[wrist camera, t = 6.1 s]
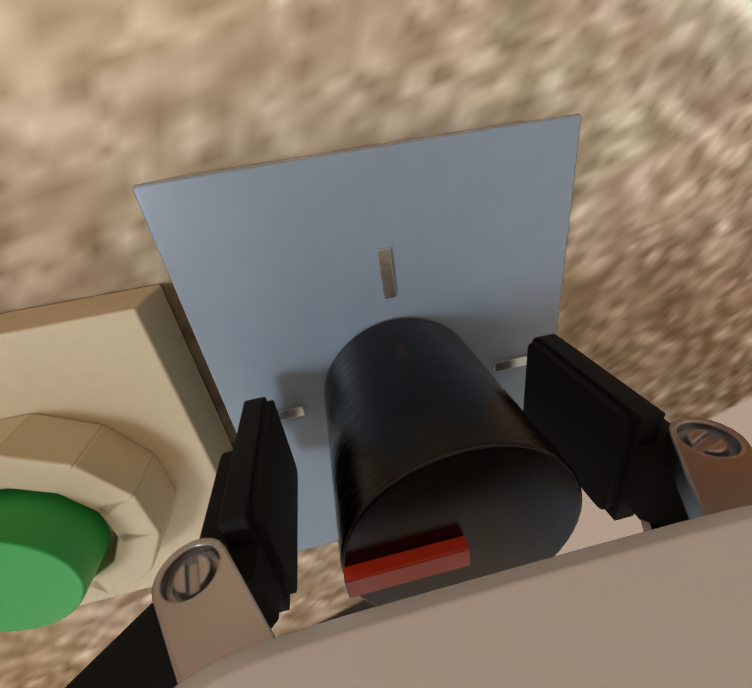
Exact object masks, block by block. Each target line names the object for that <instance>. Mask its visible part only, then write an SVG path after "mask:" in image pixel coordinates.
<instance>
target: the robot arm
mask: <svg viewBox="0 0 752 688" xmlns="http://www.w3.org/2000/svg"><path fill="white" fill-rule="evenodd" d="M523 411H524V412H525V414H526V415H527V416H528V417H529V418H530V419H531V421H532V422H533V423H534V424H535V425H536V426H537V428H538V429H539V430H540V431H541V432H542V433H543V435H544V436H545V437H546V438H547V439H548V440H549V442H550V443H551V444H552V445H553V446H554V447H555V449H556V450H557V451H558V452H559V453H560V454H561V456H562V457H563V458H564V459H565V460H566V461H567V463H568V464H569V465H570V466H571V467H572V468H573V470H574V472H575V474H576V475H577V477H578V480H579V483H580V487H581V488H582V489H583V490H584V491H585V493H586V494H587V495H588V496H589V497H590V499H591V500H592V501H593V502H594V503H595V504H596V505H597V506H598V507H599V508H600V509H605V510H606V511H607V512H608V513H609V515H610V516H611V517H612V518H613V519H614V520H619V519H622V518H626V517H630V516H633V515H634V514H635V515H636V516H637V517H638V518H639V519H640V520H641V523H642V527H643V530H644V532H642V533H638V534H634V535H631V536H627V537H623V538H620V539H616V540H613V541H609V542H605V543H601V544H598V545H594V546H590V547H587V548H583V549H580V550H576V551H572V552H569V553H565V554H561V555H558V556H554V557H551V558H547V559H544V560H540V561H536V562H533V563H529V564H526V565H522V566H518V567H515V568H511V569H508V570H504V571H501V572H497V573H493V574H490V575H486V576H483V577H479V578H476V579H472V580H468V581H465V582H461V583H458V584H454V585H451V586H447V587H444V588H440V589H437V590H433V591H430V592H426V593H423V594H419V595H416V596H412V597H409V598H405V599H402V600H398V601H395V602H391V603H388V604H384V605H381V606H377V607H374V608H370V609H367V610H363V611H360V612H356V613H353V614H349V615H346V616H343V617H340V618H336V619H333V620H330V621H326V622H323V623H320V624H317V625H313V626H310V627H307V628H303V629H300V630H297V631H294V632H290V633H287V634H284V635H281V636H278V637H275V635H274V633H273V632H272V630H271V628H272V627H273V626H274V624H275V623H276V622H277V620H278V619H279V612H283V611H286V610H290V594H292V593H296V591H297V549H298V473H297V467H296V464H295V461H294V458H293V455H292V452H291V449H290V446H289V443H288V440H287V437H286V435H285V432H284V429H283V426H282V423H281V420H280V417H279V414H278V411H277V408H276V405H275V403H274V401H273V400H270V401H267V399H266V397H260V398H256V399H251V400H247V401H245V402H244V404H243V409H242V413H241V418H240V422H239V427H238V431H237V436H236V440H235V445H234V449H233V451H229V452H224V453H223V454H222V455H221V458H220V461H219V465H218V469H217V472H216V476H215V480H214V484H213V488H212V492H211V496H210V499H209V503H208V507H207V511H206V515H205V519H204V523H203V526H202V530H201V534H200V538H199V539H197V540H194V541H191V542H189V543H187V544H186V545H184V546H182V547H180V548H179V549H178V550H177V551H175V552H174V553H173V554H172V555H171V556H170V557H169V558H168V559H167V560H166V561H165V563H164V564H163V565H162V566H161V568H160V569H159V571H158V573H157V575H156V577H155V579H154V582H153V586H152V601H153V603H152V604H151V605H150V606H149V607H147V608H146V609H145V610H144V611H143V612H142V613H141V614H140V615H139V616H138V617H137V618H136V619H135V620H134V621H133V622H132V623H131V624H130V625H129V626H128V627H127V628H126V629H125V630H124V631H123V632H122V633H121V634H120V635H119V636H118V637H117V638H116V639H115V640H114V641H112V642H111V643H110V644H109V645H108V646H107V647H106V648H105V649H104V650H103V651H102V652H101V653H100V654H99V655H98V656H97V657H96V658H95V659H94V660H93V661H92V662H91V663H90V664H89V665H88V666H87V667H86V668H85V669H84V670H83V671H82V672H81V673H80V674H79V675H77V676H76V677H75V678H74V679H73V680H72V681H71V682H70V683H69V684H68V685H67V686H66V687H65V688H752V447H751V446H750V444H749V443H748V442H747V441H746V439H745V438H744V437H743V436H742V435H740V434H739V433H737V432H736V431H735V430H733V429H731V428H729V427H727V426H725V425H723V424H721V423H717V422H714V421H711V420H708V419H702V418H691V417H686V418H681V419H677V420H675V421H673V422H672V423H671V424H670V423H669V422H667V421H666V420H665V419H664V416H665V413H664V412H663V411H661V410H660V409H659V408H657V407H656V406H654V405H653V404H652V403H650V402H649V401H647V400H646V399H645V398H643V397H642V396H641V395H639V394H638V393H636V392H635V391H634V390H632V389H631V388H629V387H628V386H627V385H625V384H624V383H622V382H621V381H620V380H618V379H617V378H615V377H614V376H613V375H611V374H610V373H609V372H607V371H606V370H604V369H603V368H602V367H600V366H599V365H597V364H596V363H595V362H593V361H592V360H590V359H589V358H588V357H586V356H585V355H584V354H582V353H581V352H579V351H578V350H577V349H575V348H574V347H572V346H571V345H570V344H568V343H567V342H565V341H564V340H563V339H561V338H560V337H559V336H557V335H555V334H549V335H544V336H539V337H535V338H534V339H533V341H532V343H530V344H529V345H528V349H527V363H526V377H525V391H524V405H523Z"/></svg>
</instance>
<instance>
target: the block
mask: <svg viewBox="0 0 752 688" xmlns="http://www.w3.org/2000/svg"><path fill="white" fill-rule="evenodd" d="M229 451H233V447H232V445H231V443H230V440H229V438H228V436H227V434H226V431H225V429H224V427H223V425H222V422H221V420H220V418H219V416H218V413H217V411H216V409H215V407H214V404H213V402H212V400H211V398H210V395H209V393H208V391H207V389H206V386H205V384H204V382H203V380H202V378H201V375H200V373H199V371H198V369H197V366H196V364H195V362H194V360H193V357H192V355H191V353H190V351H189V348H188V346H187V344H186V342H185V339H184V337H183V335H182V333H181V330H180V328H179V326H178V324H177V321H176V319H175V317H174V315H173V312H172V310H171V308H170V306H169V303H168V301H167V299H166V297H165V294H164V292H163V290H162V288H161V286H160V285H153V286H148V287H142V288H137V289H132V290H126V291H121V292H115V293H110V294H105V295H99V296H94V297H88V298H83V299H78V300H72V301H67V302H62V303H56V304H51V305H45V306H40V307H35V308H29V309H24V310H18V311H13V312H8V313H2V314H0V490H4V489H21V490H31V491H40V492H50V493H58V494H60V495H63V496H65V497H67V498H69V499H71V500H74V501H76V502H78V503H80V504H82V505H85V506H87V507H89V508H91V509H93V510H96V511H98V512H99V513H100V514H101V515H102V517H103V518H104V519H105V521H106V522H107V523H108V526H109V528H110V533H111V539H110V544H109V547H108V549H107V551H106V553H105V555H104V557H103V559H102V561H101V564H100V566H99V568H98V570H97V572H96V574H95V576H94V578H93V580H92V582H91V584H90V586H89V588H88V590H87V592H86V595H85V597H84V599H83V600H82V602H81V603H80V605H84V604H88V603H92V602H96V601H99V600H103V599H107V598H111V597H114V596H118V595H122V594H126V593H130V592H134V591H137V590H141V589H145V588H149V587H152V586H153V582H154V579H155V577H156V575H157V573H158V571H159V569H160V568H161V566H162V565H163V564H164V563H165V561H166V560H167V559H168V558H169V557H170V556H171V555H172V554H173V553H174V552H175V551H177V550H178V549H179V548H180V547H182V546H184V545H186V544H187V543H189V542H191V541H194V540H197V539H199V538H200V534H201V530H202V526H203V523H204V519H205V515H206V511H207V507H208V503H209V499H210V496H211V492H212V488H213V484H214V480H215V476H216V472H217V469H218V465H219V461H220V458H221V455H222V454H223V453H224V452H229ZM80 605H79V606H80Z"/></svg>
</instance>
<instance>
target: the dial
mask: <svg viewBox="0 0 752 688" xmlns="http://www.w3.org/2000/svg"><path fill="white" fill-rule="evenodd" d="M324 400H325V410H326V420H327V430H328V440H329V450H330V460H331V471H332V481H333V491H334V501H335V511H336V521H337V531H338V542H339V552H340V561H341V566H342V571H343V573H344V581H345V584H346V588H347V591H348V594H349V597H350V598H352V597H356V596H360V597H361V598H363V599H365V600H366V601H368V602H369V603H371V604H374V605H376V606H381V605H384V604H388V603H391V602H395V601H398V600H402V599H405V598H409V597H412V596H416V595H419V594H423V593H426V592H430V591H433V590H437V589H440V588H444V587H447V586H451V585H454V584H458V583H461V582H465V581H468V580H472V579H476V578H479V577H483V576H486V575H490V574H493V573H497V572H501V571H504V570H508V569H511V568H515V567H518V566H522V565H526V564H529V563H533V562H536V561H540V560H544V559H547V558H551V557H554V556H555V555H556V554H557V553H558V552H559V551H560V549H561V548H562V547H563V546H564V544H565V543H566V542H567V540H568V539H569V537H570V535H571V534H572V532H573V531H574V529H575V526H576V524H577V522H578V519H579V516H580V512H581V507H582V492H581V491H582V490H581V487H580V483H579V480H578V477H577V475H576V474H575V472H574V470H573V468H572V467H571V466H570V465H569V464H568V463H567V461H566V460H565V459H564V458H563V457H562V456H561V454H560V453H559V452H558V451H557V450H556V449H555V447H554V446H553V445H552V444H551V443H550V442H549V440H548V439H547V438H546V437H545V436H544V435H543V433H542V432H541V431H540V430H539V429H538V428H537V426H536V425H535V424H534V423H533V422H532V421H531V419H530V418H529V417H528V416H527V415H526V414H525V412H524V411H523V410H522V409H521V408H520V407H519V405H518V404H517V403H516V402H515V401H514V400H513V398H512V397H511V396H510V395H509V394H508V393H507V391H506V390H505V389H504V388H503V387H502V386H501V384H500V383H499V382H498V381H497V380H496V379H495V377H494V376H493V375H492V374H491V373H490V372H489V370H488V369H487V368H486V367H485V366H484V365H483V363H482V362H481V361H480V360H479V359H478V358H477V356H476V355H475V354H474V353H473V352H472V351H471V349H470V348H469V347H468V346H467V345H466V344H465V342H464V341H463V340H462V339H461V338H460V337H459V336H458V335H457V334H456V333H455V332H453V331H452V330H451V329H449V328H447V327H446V326H444V325H442V324H439V323H437V322H434V321H430V320H426V319H419V318H401V319H394V320H389V321H386V322H382V323H379V324H377V325H374V326H372V327H370V328H368V329H366V330H364V331H362V332H361V333H359V334H358V335H357V336H355V337H354V338H353V339H351V340H350V341H349V342H348V343H347V344H346V345H345V346H344V347H343V348H342V349H341V351H340V352H339V353H338V354H337V356H336V357H335V359H334V360H333V362H332V364H331V366H330V368H329V370H328V373H327V377H326V380H325V387H324Z"/></svg>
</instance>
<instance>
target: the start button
mask: <svg viewBox="0 0 752 688" xmlns="http://www.w3.org/2000/svg"><path fill="white" fill-rule="evenodd" d="M110 539H111V533H110V528H109V526H108V523H107V522H106V521H105V519H104V518H103V517H102V515H101V514H100V513H99V512H98V511H96V510H93V509H91V508H89V507H87V506H85V505H82V504H80V503H78V502H76V501H74V500H71V499H69V498H67V497H65V496H63V495H60V494H58V493H50V492H40V491H31V490H21V489H4V490H0V632H4V631H20V630H27V629H33V628H37V627H41V626H45V625H48V624H51V623H53V622H56V621H58V620H60V619H62V618H64V617H66V616H67V615H69V614H70V613H71V612H73V611H74V610H75V609H76V608H77V607H78V606H79V605H80V603H81V602H82V600H83V599H84V597H85V595H86V592H87V590H88V588H89V586H90V584H91V582H92V580H93V578H94V576H95V574H96V572H97V570H98V568H99V566H100V564H101V561H102V559H103V557H104V555H105V553H106V551H107V549H108V547H109V544H110Z"/></svg>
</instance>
